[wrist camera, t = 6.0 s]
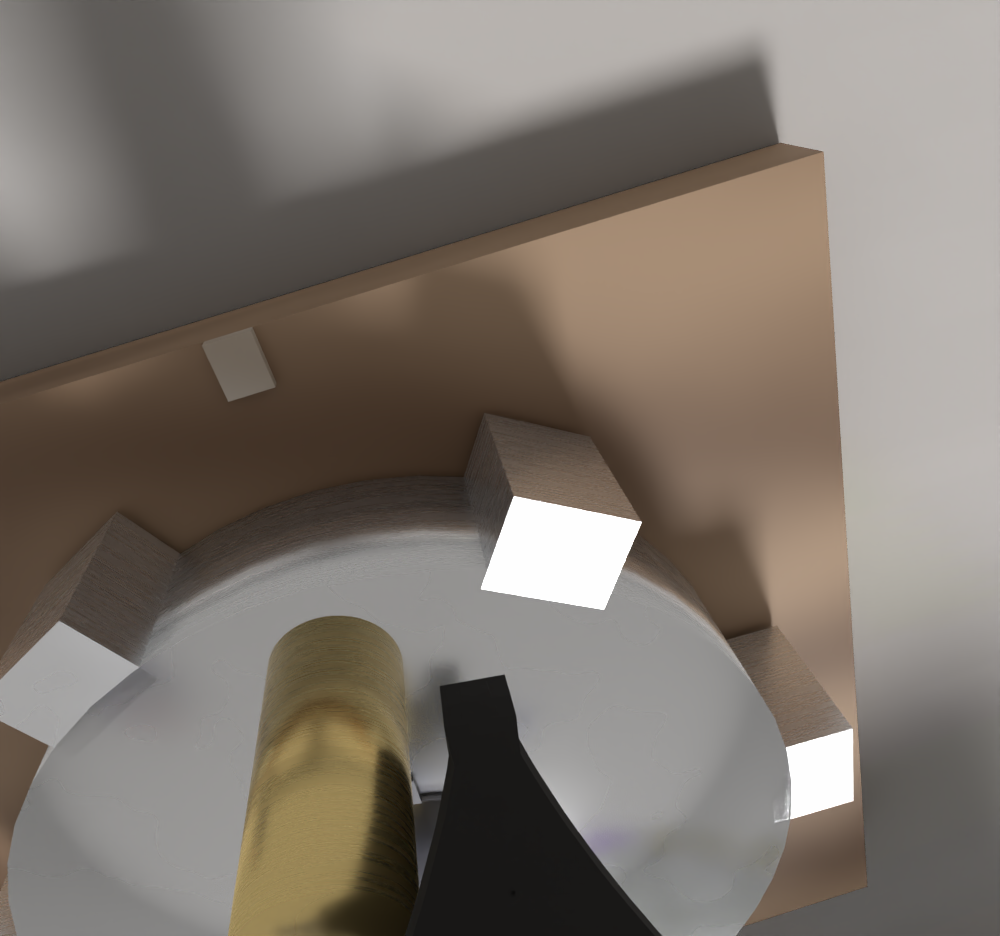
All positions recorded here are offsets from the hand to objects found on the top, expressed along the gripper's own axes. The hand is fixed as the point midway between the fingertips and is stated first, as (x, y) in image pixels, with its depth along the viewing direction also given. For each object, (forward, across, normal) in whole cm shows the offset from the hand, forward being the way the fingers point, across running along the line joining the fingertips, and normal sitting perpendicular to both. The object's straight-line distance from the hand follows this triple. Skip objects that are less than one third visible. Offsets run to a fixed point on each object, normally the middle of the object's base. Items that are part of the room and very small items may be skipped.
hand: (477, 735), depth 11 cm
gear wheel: (+5, +1, +5) cm, 7 cm away
